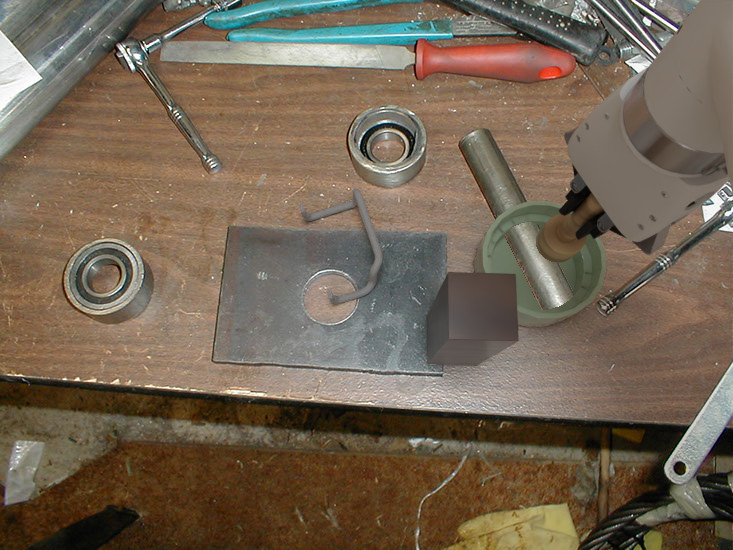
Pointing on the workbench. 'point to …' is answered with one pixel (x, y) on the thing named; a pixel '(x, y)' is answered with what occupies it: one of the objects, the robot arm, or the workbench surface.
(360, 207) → the bracket
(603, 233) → the robot arm
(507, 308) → the brown block
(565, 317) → the bowl
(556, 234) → the muddler
